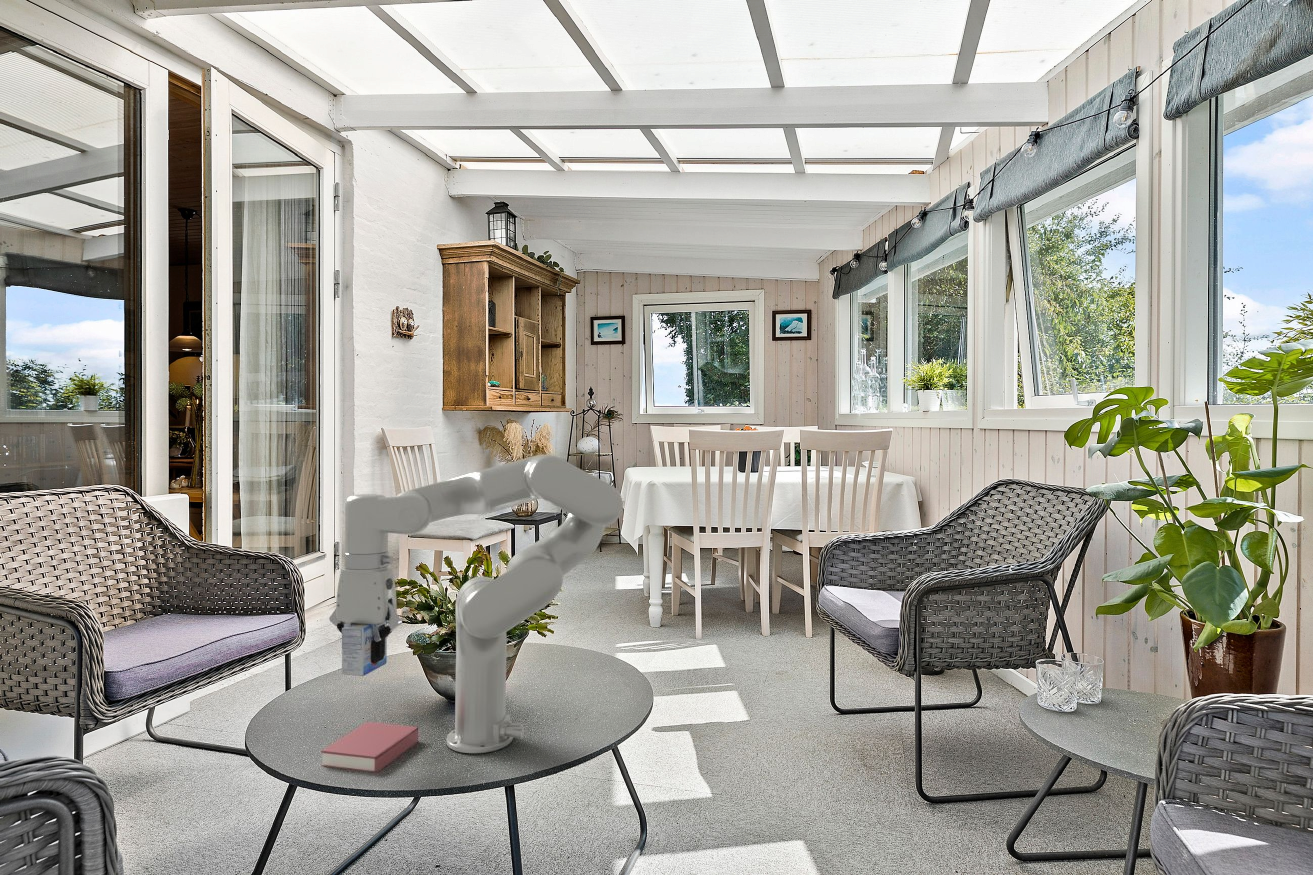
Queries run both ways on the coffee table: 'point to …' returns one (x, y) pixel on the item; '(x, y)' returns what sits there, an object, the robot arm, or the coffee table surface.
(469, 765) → the coffee table surface
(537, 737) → the coffee table surface
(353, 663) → the medicine box
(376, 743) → the book
